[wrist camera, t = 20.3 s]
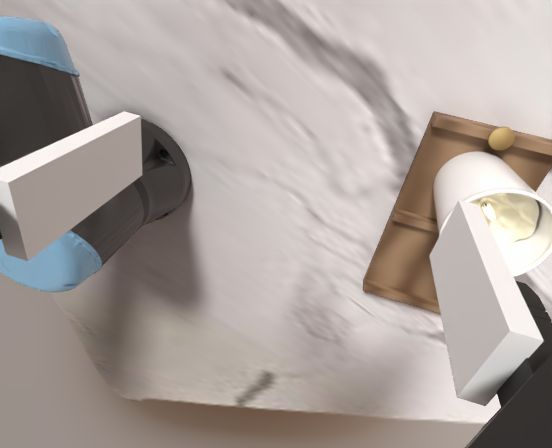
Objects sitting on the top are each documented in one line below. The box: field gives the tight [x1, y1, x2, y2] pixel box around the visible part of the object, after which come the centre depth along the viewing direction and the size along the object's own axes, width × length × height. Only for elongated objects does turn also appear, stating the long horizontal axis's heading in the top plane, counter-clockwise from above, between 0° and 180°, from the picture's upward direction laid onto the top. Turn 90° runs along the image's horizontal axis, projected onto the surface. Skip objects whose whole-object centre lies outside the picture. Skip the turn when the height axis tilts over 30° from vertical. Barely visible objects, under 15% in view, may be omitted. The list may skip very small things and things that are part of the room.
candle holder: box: [433, 151, 552, 277], centre depth 39 cm, size 10×10×12 cm
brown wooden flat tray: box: [363, 111, 552, 314], centre depth 47 cm, size 14×27×3 cm, turn 169°
